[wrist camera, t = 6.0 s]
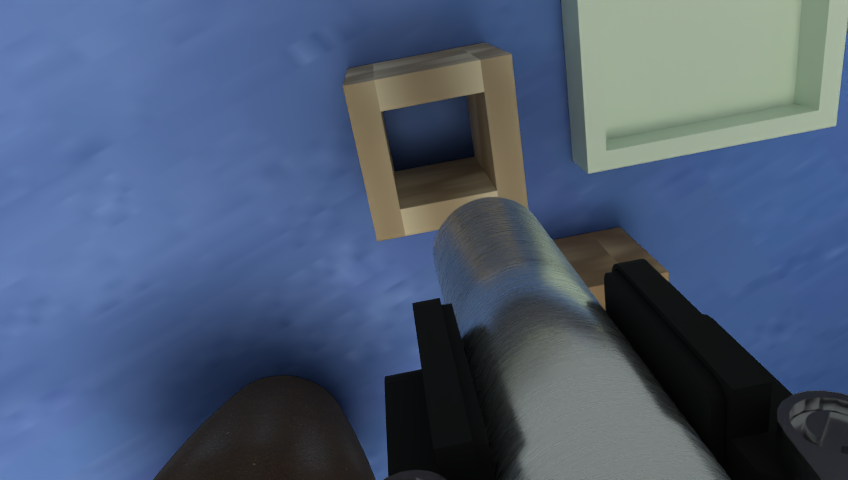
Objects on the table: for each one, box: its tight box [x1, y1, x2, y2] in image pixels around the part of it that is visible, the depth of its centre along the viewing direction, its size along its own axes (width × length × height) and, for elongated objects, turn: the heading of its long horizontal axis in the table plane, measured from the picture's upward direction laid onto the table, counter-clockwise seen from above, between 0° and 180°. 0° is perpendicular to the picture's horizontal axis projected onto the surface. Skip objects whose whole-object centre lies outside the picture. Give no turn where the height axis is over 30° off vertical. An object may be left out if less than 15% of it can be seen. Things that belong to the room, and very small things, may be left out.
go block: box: [343, 42, 528, 241], centre depth 28 cm, size 7×7×6 cm
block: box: [553, 227, 669, 311], centre depth 33 cm, size 6×6×6 cm
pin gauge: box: [433, 197, 731, 480], centre depth 11 cm, size 3×3×10 cm
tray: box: [561, 0, 848, 174], centre depth 29 cm, size 13×13×2 cm
